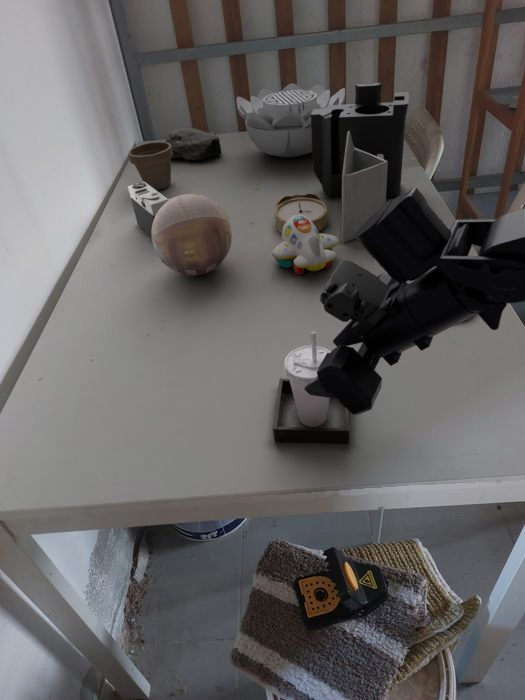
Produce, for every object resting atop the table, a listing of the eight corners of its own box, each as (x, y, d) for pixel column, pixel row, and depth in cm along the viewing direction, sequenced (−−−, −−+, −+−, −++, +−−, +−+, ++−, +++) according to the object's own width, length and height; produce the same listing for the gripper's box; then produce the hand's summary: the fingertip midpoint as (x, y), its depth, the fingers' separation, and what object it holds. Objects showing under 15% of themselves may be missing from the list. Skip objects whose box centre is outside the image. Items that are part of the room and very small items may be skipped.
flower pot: (130, 187, 141) (120, 149, 135) (166, 174, 146) (158, 138, 140) (149, 198, 134) (139, 159, 127) (186, 184, 138) (179, 146, 132)
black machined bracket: (401, 199, 118) (409, 95, 104) (312, 199, 123) (308, 100, 109) (402, 179, 127) (410, 81, 113) (319, 180, 132) (316, 86, 118)
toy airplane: (284, 248, 88) (258, 211, 99) (285, 290, 94) (261, 250, 105) (355, 232, 91) (322, 197, 102) (352, 274, 97) (321, 236, 108)
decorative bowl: (363, 158, 141) (365, 99, 131) (257, 178, 137) (251, 118, 128) (327, 129, 164) (326, 76, 154) (236, 145, 160) (229, 92, 151)
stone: (156, 157, 151) (157, 122, 150) (166, 165, 159) (167, 131, 158) (216, 158, 148) (218, 122, 147) (223, 166, 157) (225, 132, 156)
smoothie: (339, 433, 66) (338, 348, 57) (289, 435, 67) (281, 352, 58) (335, 397, 71) (333, 315, 62) (288, 400, 72) (280, 318, 63)
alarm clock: (276, 227, 107) (271, 187, 117) (278, 246, 111) (273, 206, 121) (330, 221, 107) (321, 181, 116) (330, 240, 110) (321, 200, 120)
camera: (193, 235, 114) (184, 191, 108) (159, 247, 112) (148, 203, 105) (168, 215, 124) (159, 174, 118) (136, 225, 121) (125, 184, 115)
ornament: (248, 255, 105) (239, 183, 96) (216, 295, 94) (202, 218, 85) (184, 248, 110) (169, 179, 101) (146, 285, 100) (126, 212, 90)
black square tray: (348, 392, 72) (348, 378, 70) (349, 444, 65) (349, 430, 63) (280, 391, 73) (279, 378, 72) (274, 442, 66) (272, 429, 64)
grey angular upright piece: (381, 243, 103) (386, 144, 91) (341, 242, 105) (341, 145, 93) (386, 208, 115) (391, 117, 103) (351, 208, 117) (351, 118, 105)
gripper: (396, 208, 56) (306, 279, 67) (336, 300, 44) (238, 368, 55) (461, 282, 58) (363, 339, 69) (422, 391, 45) (309, 438, 57)
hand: (322, 366), depth 62 cm, fingers open, 9 cm apart
